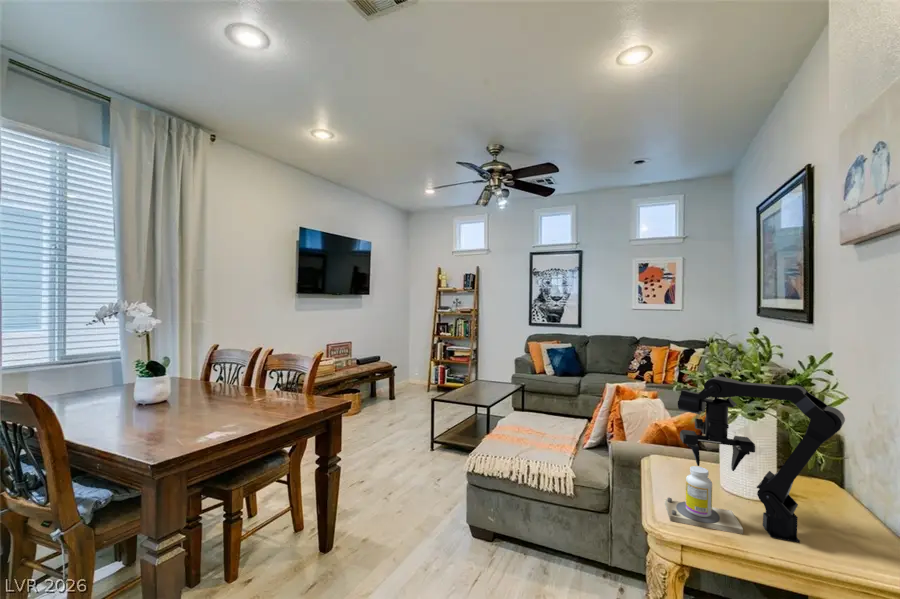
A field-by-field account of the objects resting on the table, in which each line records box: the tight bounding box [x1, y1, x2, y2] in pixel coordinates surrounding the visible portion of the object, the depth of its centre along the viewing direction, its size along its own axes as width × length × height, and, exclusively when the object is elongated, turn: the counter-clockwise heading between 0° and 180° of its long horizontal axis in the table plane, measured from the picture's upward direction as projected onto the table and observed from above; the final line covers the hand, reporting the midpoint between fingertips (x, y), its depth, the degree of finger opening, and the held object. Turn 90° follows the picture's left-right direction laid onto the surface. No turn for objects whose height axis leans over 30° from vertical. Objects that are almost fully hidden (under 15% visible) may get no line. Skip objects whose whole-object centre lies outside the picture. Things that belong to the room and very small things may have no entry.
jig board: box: [664, 497, 744, 535], centre depth 119 cm, size 18×11×2 cm, turn 70°
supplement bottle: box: [685, 465, 713, 517], centre depth 119 cm, size 7×7×13 cm
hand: (715, 467), depth 123 cm, fingers open, 9 cm apart
